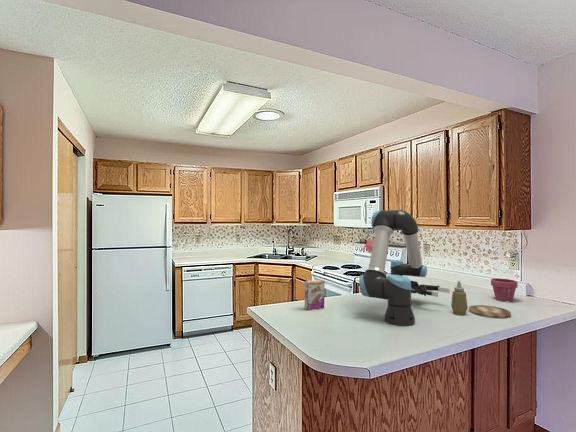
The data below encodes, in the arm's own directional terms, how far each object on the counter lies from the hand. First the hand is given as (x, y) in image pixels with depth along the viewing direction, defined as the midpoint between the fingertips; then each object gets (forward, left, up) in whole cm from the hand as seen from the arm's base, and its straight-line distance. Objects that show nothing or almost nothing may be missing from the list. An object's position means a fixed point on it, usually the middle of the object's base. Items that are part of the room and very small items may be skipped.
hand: (443, 292), depth 184 cm
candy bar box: (-75, -5, -10) cm, 76 cm away
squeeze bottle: (+6, -6, -10) cm, 13 cm away
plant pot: (+46, +27, -10) cm, 54 cm away
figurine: (-30, +87, -10) cm, 92 cm away
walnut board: (+23, -3, -10) cm, 25 cm away
